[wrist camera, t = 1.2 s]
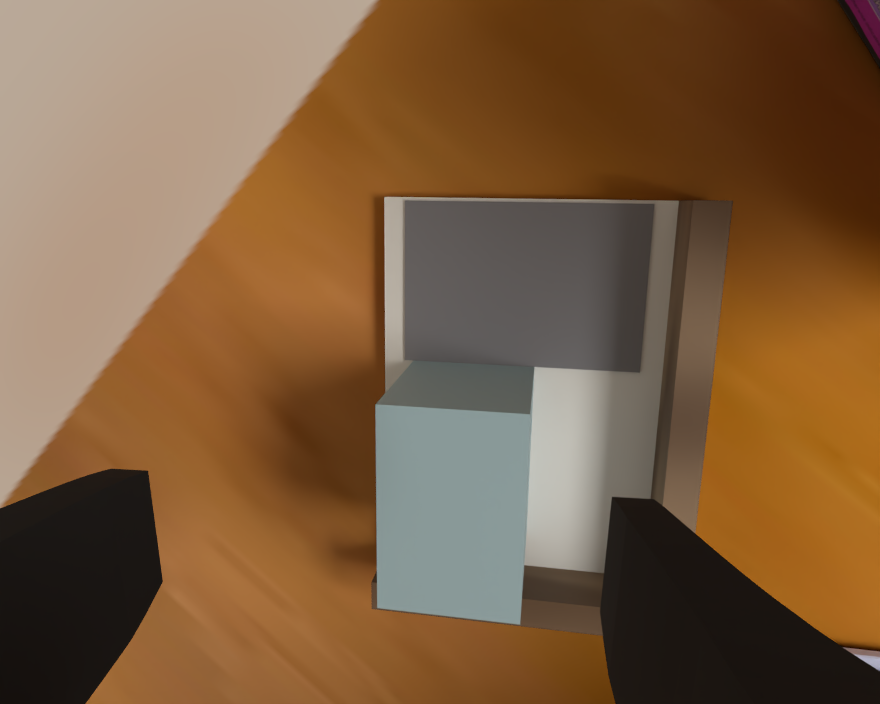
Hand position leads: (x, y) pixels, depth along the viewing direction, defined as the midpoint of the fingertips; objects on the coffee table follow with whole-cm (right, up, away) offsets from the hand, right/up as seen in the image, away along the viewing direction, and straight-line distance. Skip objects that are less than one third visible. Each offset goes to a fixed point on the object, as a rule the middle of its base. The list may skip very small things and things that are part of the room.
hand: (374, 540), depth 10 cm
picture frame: (+4, +1, +12) cm, 13 cm away
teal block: (+2, 0, +12) cm, 12 cm away
